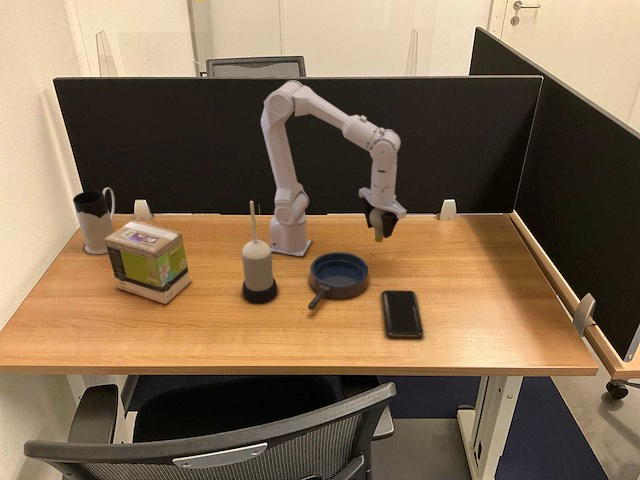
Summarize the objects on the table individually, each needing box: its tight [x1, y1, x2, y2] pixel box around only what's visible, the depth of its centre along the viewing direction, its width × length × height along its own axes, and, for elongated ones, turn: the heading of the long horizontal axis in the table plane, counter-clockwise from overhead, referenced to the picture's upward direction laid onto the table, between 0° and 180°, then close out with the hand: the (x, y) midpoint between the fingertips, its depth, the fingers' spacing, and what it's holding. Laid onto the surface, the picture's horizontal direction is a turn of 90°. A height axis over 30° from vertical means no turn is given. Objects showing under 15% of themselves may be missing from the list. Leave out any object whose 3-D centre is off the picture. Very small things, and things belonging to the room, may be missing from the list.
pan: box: [309, 251, 369, 300], centre depth 125 cm, size 14×14×4 cm
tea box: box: [105, 219, 191, 305], centre depth 121 cm, size 15×10×15 cm
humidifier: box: [241, 200, 278, 305], centre depth 116 cm, size 8×8×25 cm
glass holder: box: [72, 187, 116, 255], centre depth 138 cm, size 9×14×15 cm, turn 167°
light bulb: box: [369, 207, 387, 243], centre depth 126 cm, size 5×5×10 cm
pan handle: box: [307, 284, 331, 311], centre depth 117 cm, size 9×2×2 cm, turn 153°
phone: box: [381, 289, 424, 340], centre depth 115 cm, size 8×1×15 cm
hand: (379, 231), depth 127 cm, fingers closed on light bulb, 5 cm apart
